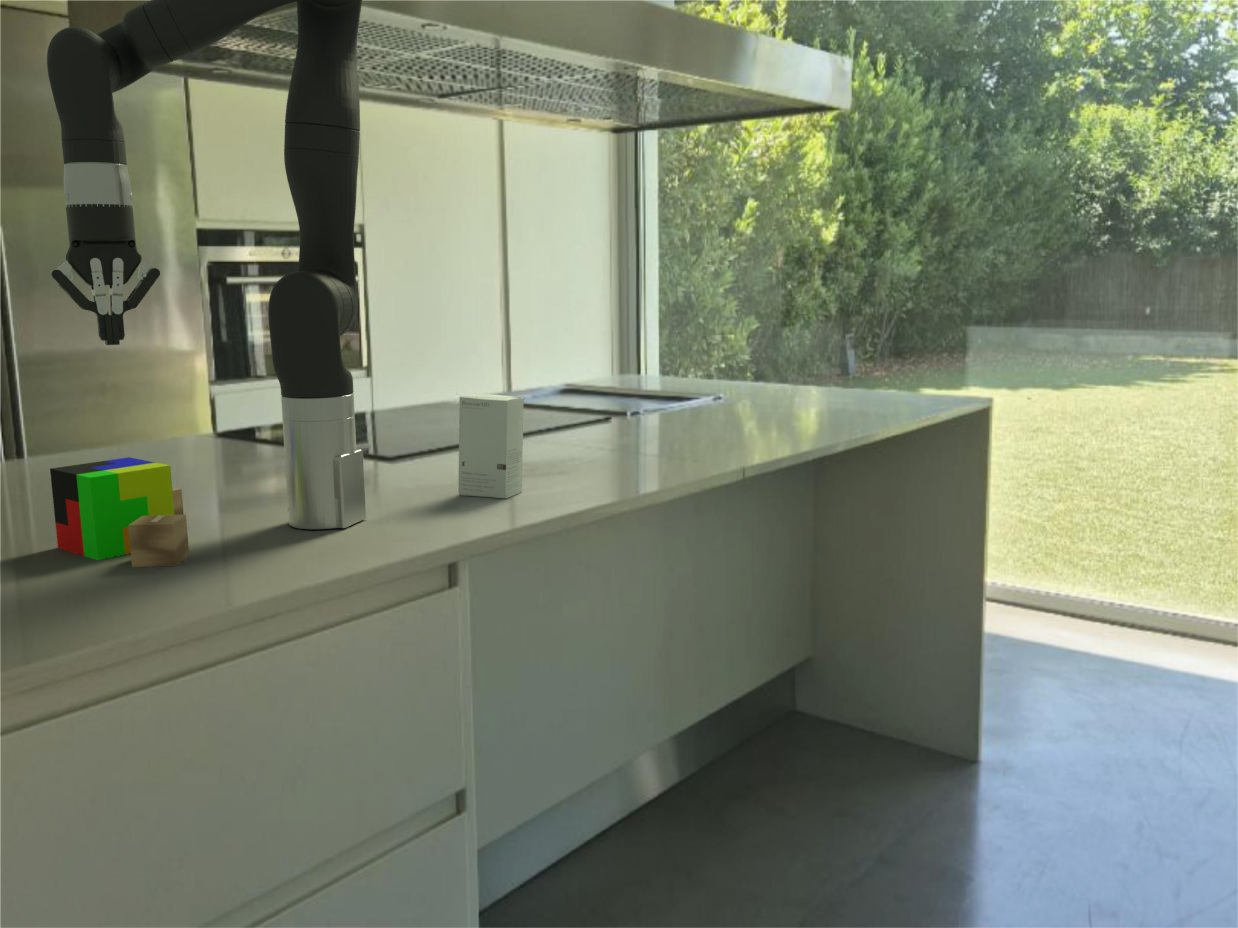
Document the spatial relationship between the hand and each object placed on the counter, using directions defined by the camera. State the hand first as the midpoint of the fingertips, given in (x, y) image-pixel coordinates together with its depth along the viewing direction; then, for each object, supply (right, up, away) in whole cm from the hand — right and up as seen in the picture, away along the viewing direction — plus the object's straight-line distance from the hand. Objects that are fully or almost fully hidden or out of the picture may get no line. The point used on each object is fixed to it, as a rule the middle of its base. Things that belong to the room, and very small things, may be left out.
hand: (112, 344), depth 141 cm
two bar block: (+2, -23, +8) cm, 25 cm away
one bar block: (+10, -26, -9) cm, 30 cm away
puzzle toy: (+1, -25, -2) cm, 25 cm away
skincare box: (+45, -20, +28) cm, 56 cm away
